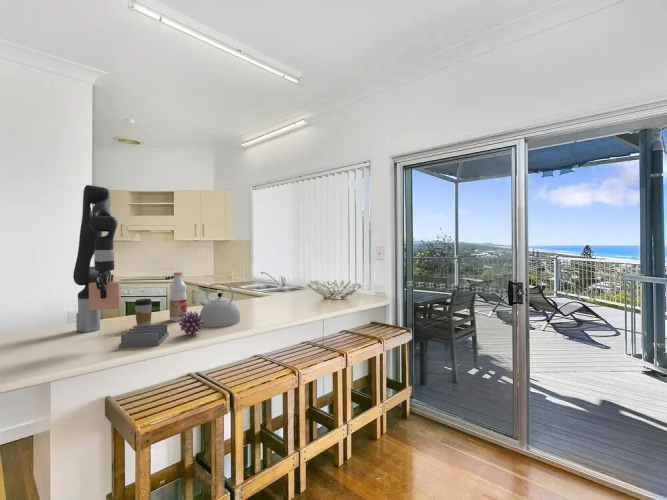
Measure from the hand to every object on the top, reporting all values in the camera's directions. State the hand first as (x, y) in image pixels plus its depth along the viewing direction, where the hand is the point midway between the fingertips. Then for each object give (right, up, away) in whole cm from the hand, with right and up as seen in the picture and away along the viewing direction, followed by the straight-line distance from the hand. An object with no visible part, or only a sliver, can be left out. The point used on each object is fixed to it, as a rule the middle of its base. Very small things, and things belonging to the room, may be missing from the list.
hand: (105, 297), depth 155 cm
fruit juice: (+12, -20, +47) cm, 53 cm away
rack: (+16, -21, +4) cm, 27 cm away
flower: (+33, -21, +15) cm, 42 cm away
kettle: (+38, -20, +42) cm, 60 cm away
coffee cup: (+2, -20, +29) cm, 35 cm away
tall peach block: (0, -5, 0) cm, 5 cm away
